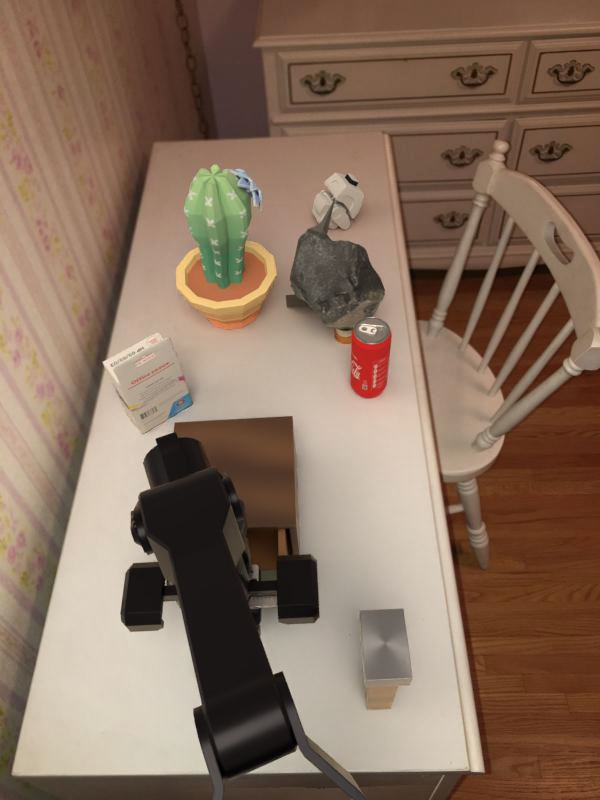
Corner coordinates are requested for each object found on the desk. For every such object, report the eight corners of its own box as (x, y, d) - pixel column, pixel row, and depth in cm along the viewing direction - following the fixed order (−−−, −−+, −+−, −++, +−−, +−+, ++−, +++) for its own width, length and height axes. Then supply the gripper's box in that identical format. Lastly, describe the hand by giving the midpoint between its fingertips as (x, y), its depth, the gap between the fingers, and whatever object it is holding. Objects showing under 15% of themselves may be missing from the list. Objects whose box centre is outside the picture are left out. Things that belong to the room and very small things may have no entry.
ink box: (176, 383, 95) (153, 313, 83) (193, 404, 92) (172, 336, 80) (125, 413, 92) (93, 345, 80) (141, 436, 89) (112, 369, 77)
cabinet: (300, 557, 78) (296, 525, 71) (180, 563, 78) (163, 532, 71) (296, 454, 87) (292, 415, 79) (188, 459, 87) (174, 422, 79)
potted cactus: (273, 348, 98) (256, 213, 77) (174, 342, 99) (133, 208, 79) (287, 277, 107) (275, 139, 86) (196, 272, 108) (163, 136, 88)
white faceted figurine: (340, 240, 114) (375, 193, 109) (313, 229, 110) (348, 180, 105) (326, 220, 117) (360, 175, 112) (300, 209, 113) (333, 161, 108)
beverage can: (381, 404, 91) (386, 349, 81) (345, 395, 92) (346, 340, 82) (390, 376, 93) (396, 319, 84) (355, 368, 95) (357, 311, 85)
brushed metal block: (409, 685, 57) (412, 678, 55) (364, 687, 57) (365, 680, 55) (401, 617, 60) (403, 608, 58) (358, 619, 60) (359, 610, 58)
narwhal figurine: (292, 368, 95) (284, 279, 81) (285, 295, 104) (277, 202, 90) (388, 359, 95) (397, 268, 81) (373, 287, 104) (379, 193, 90)
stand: (390, 708, 68) (400, 679, 57) (366, 710, 68) (372, 681, 57) (385, 659, 71) (393, 622, 60) (362, 660, 71) (367, 624, 60)
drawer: (297, 647, 71) (294, 627, 65) (176, 652, 71) (162, 633, 65) (292, 497, 82) (289, 468, 76) (187, 502, 82) (176, 474, 76)
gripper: (312, 477, 61) (316, 544, 74) (116, 487, 61) (154, 552, 74) (318, 593, 54) (321, 644, 67) (99, 603, 55) (143, 653, 67)
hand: (233, 619), depth 69 cm, fingers closed, pressing on drawer
